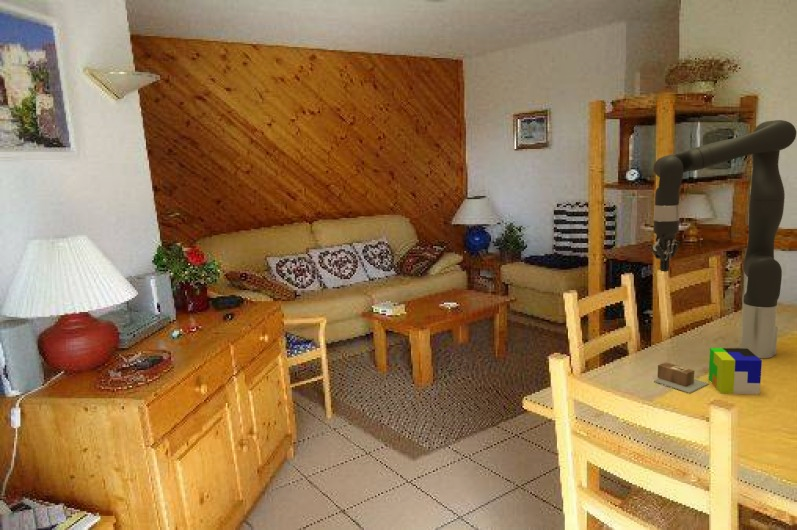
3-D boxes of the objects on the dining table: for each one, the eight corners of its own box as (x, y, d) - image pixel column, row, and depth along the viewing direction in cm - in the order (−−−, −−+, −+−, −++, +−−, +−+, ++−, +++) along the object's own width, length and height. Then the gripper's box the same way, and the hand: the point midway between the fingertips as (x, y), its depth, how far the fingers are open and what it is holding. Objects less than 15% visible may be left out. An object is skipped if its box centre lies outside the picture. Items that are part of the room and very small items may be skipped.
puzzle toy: (759, 394, 156) (761, 360, 154) (720, 393, 158) (722, 360, 156) (745, 380, 166) (747, 348, 164) (708, 379, 168) (710, 347, 166)
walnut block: (665, 361, 171) (694, 369, 164) (665, 374, 172) (693, 383, 164) (657, 364, 169) (686, 373, 162) (657, 377, 170) (686, 386, 162)
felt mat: (673, 373, 173) (673, 372, 173) (708, 384, 164) (708, 383, 164) (653, 382, 168) (653, 380, 168) (689, 393, 159) (689, 392, 159)
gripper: (667, 216, 187) (665, 266, 190) (643, 220, 180) (642, 272, 184) (689, 217, 181) (687, 269, 184) (665, 221, 174) (663, 275, 177)
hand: (664, 271), depth 184 cm, fingers closed
